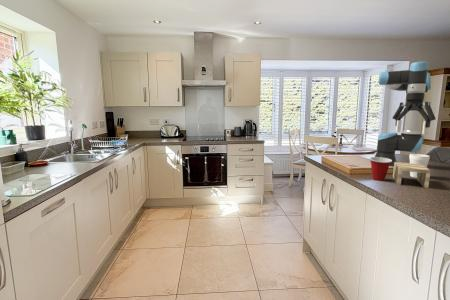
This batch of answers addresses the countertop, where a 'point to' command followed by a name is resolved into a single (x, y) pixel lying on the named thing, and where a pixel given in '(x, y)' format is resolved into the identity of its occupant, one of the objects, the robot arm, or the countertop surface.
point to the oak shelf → (421, 170)
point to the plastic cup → (379, 167)
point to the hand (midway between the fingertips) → (410, 133)
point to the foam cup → (418, 161)
